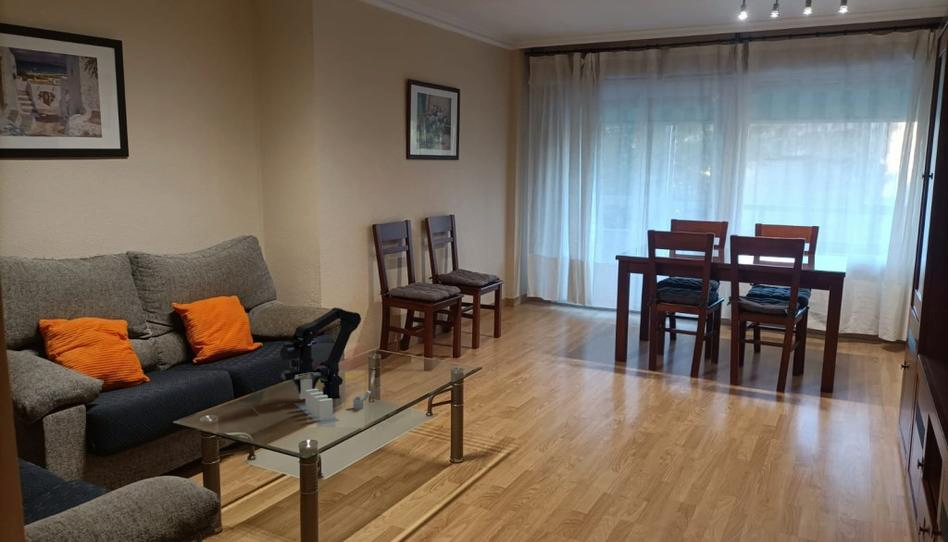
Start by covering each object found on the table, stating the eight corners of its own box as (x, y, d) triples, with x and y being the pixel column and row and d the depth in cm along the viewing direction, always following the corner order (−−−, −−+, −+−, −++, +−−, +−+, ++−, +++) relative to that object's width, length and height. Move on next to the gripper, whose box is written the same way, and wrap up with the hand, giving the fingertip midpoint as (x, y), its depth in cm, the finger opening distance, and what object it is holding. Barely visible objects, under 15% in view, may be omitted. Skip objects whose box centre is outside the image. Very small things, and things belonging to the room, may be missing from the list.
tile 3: (314, 416, 279) (314, 396, 278) (326, 414, 282) (326, 394, 281) (315, 417, 278) (315, 397, 277) (327, 415, 280) (327, 395, 279)
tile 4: (319, 420, 275) (318, 400, 274) (331, 417, 277) (330, 398, 276) (320, 421, 273) (320, 401, 272) (332, 419, 276) (332, 399, 275)
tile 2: (310, 412, 283) (309, 393, 282) (321, 410, 286) (321, 391, 285) (311, 413, 282) (311, 394, 281) (323, 411, 284) (323, 392, 283)
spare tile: (299, 398, 293) (299, 379, 292) (311, 396, 296) (310, 378, 295) (300, 399, 292) (300, 380, 291) (312, 397, 295) (312, 378, 294)
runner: (294, 404, 295) (294, 403, 295) (312, 401, 299) (312, 400, 299) (319, 425, 270) (319, 424, 270) (339, 421, 274) (339, 420, 274)
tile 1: (305, 409, 287) (305, 390, 286) (317, 407, 290) (317, 388, 289) (307, 410, 286) (306, 391, 285) (318, 408, 289) (318, 389, 288)
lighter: (353, 409, 289) (353, 390, 288) (354, 408, 291) (354, 389, 290) (370, 410, 288) (369, 391, 287) (371, 409, 290) (371, 390, 289)
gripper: (319, 349, 304) (320, 384, 306) (276, 354, 294) (277, 391, 296) (329, 354, 294) (329, 391, 296) (285, 360, 284) (286, 398, 286)
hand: (305, 392), depth 294 cm, fingers closed on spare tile, 5 cm apart
